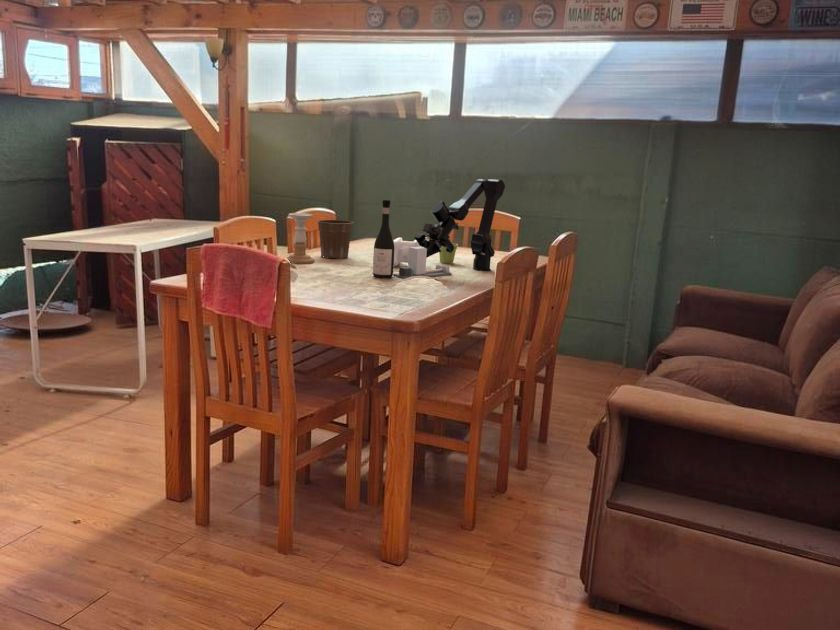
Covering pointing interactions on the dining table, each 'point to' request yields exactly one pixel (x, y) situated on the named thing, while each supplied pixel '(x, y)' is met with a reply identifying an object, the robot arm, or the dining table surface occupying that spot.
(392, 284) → the dining table surface
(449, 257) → the plant pot
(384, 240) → the wine bottle
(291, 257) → the candle holder
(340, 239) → the plant pot
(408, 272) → the cord comb board
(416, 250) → the open-bottomed white box
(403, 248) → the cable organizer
